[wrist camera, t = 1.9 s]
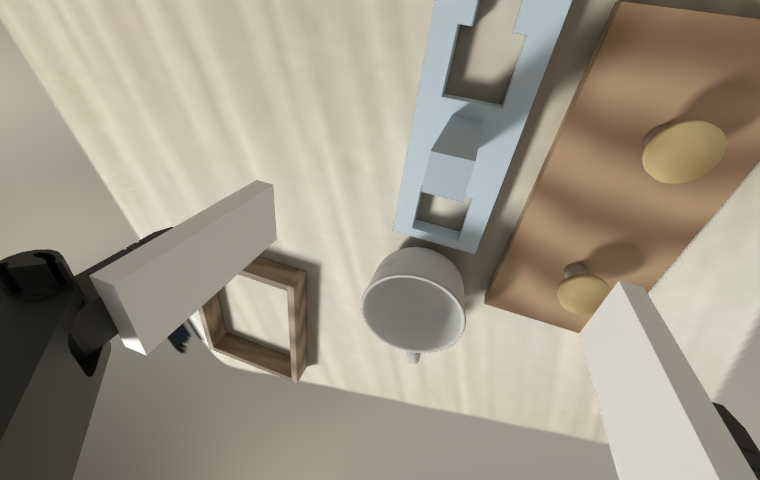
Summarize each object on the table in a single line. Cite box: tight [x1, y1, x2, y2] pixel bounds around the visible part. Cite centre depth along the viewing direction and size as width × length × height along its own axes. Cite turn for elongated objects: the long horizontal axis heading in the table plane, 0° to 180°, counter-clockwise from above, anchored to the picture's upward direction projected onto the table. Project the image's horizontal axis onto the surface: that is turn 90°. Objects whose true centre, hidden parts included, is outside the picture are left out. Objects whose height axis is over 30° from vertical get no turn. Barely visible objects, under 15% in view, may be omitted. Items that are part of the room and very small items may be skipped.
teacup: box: [361, 247, 466, 364], centre depth 36 cm, size 14×11×8 cm
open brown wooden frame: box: [198, 257, 307, 383], centre depth 52 cm, size 23×18×4 cm
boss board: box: [484, 1, 760, 333], centre depth 26 cm, size 28×13×5 cm, turn 172°
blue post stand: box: [393, 0, 572, 254], centre depth 23 cm, size 24×9×12 cm, turn 172°
